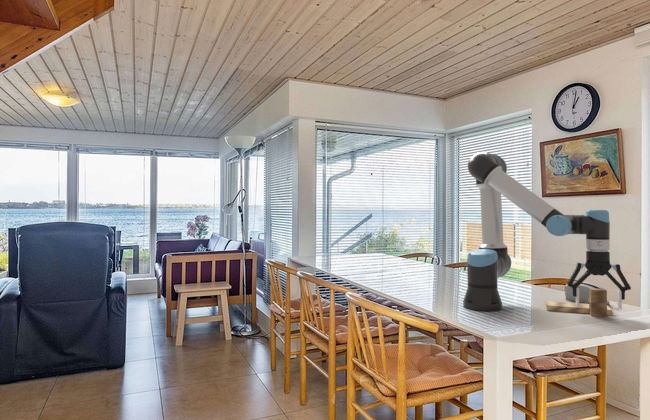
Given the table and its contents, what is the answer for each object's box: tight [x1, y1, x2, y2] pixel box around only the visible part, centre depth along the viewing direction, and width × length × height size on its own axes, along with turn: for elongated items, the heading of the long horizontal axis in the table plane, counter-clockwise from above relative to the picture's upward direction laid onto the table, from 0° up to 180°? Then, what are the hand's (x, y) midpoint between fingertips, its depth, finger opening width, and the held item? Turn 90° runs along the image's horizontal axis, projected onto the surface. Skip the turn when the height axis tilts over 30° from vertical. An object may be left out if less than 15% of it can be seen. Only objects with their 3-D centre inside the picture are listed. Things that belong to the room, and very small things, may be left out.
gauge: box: [587, 288, 608, 318], centre depth 167 cm, size 5×15×10 cm, turn 157°
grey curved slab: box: [564, 281, 611, 306], centre depth 185 cm, size 17×5×10 cm, turn 28°
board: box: [544, 300, 613, 316], centre depth 170 cm, size 22×9×2 cm, turn 67°
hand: (598, 306), depth 162 cm, fingers open, 13 cm apart
